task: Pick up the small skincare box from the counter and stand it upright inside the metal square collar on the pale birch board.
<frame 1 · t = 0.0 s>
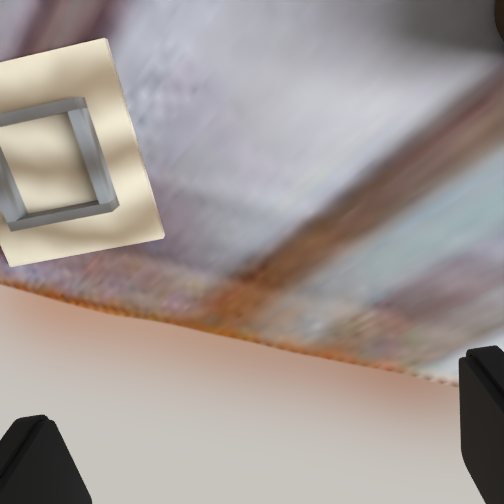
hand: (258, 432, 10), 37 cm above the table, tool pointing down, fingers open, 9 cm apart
holder board: (56, 162, 44), on the table
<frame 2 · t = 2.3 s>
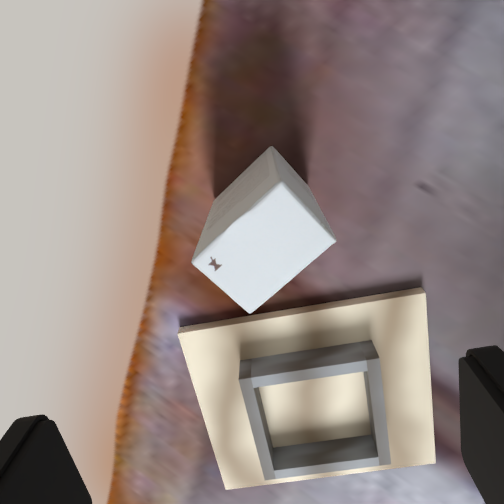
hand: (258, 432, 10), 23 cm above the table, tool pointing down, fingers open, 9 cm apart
holder board: (313, 394, 38), on the table
skincare box: (262, 192, 31), on the table
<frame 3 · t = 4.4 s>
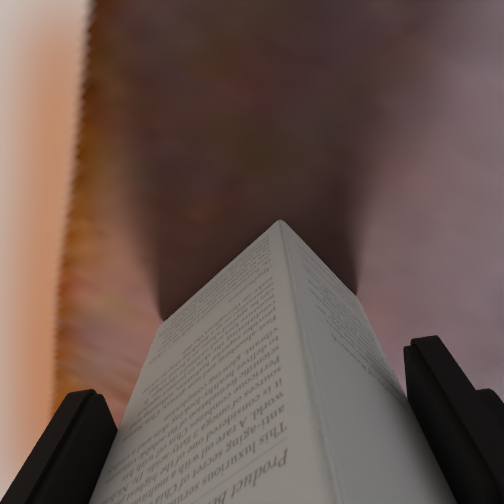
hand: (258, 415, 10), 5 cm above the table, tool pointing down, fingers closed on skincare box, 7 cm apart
skincare box: (260, 307, 15), on the table, touching gripper
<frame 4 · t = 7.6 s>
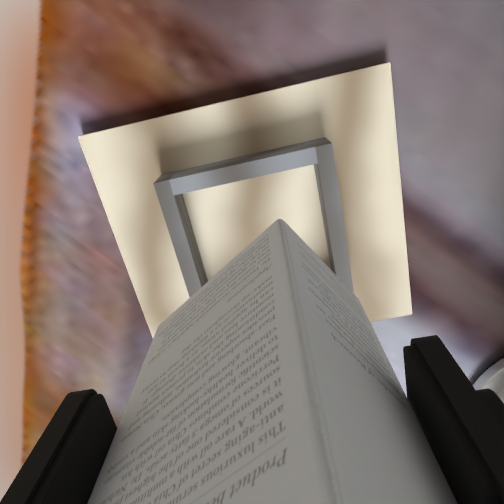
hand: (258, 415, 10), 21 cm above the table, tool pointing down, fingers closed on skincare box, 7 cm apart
holder board: (259, 228, 31), on the table
skincare box: (259, 307, 15), point 16 cm above the table, touching gripper
when the fingers open (7 cm above the table, at t = 10.9 s): skincare box stays where it is, resting on holder board.
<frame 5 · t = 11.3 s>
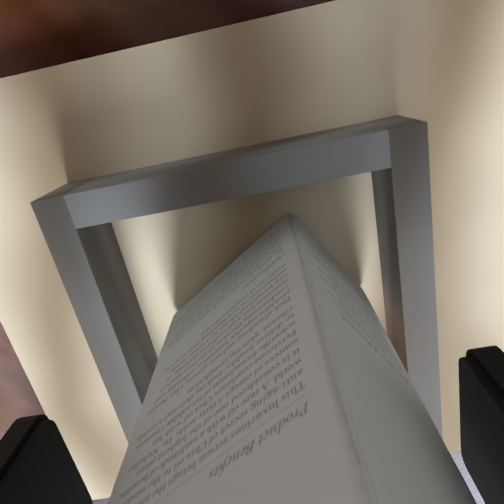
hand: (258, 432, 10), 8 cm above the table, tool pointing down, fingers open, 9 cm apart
holder board: (259, 285, 17), on the table
skincare box: (269, 297, 16), point 1 cm above the table, touching holder board
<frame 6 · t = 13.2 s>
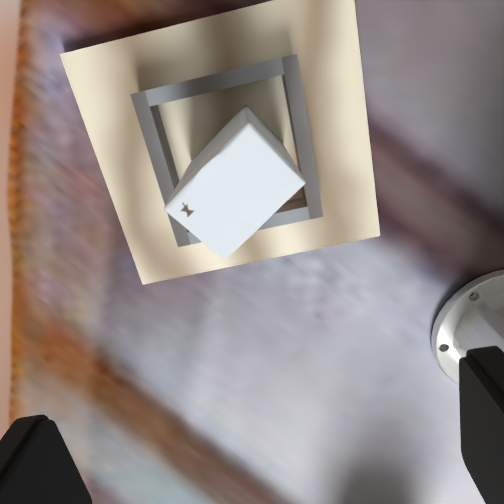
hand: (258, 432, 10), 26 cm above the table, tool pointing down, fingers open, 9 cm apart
holder board: (233, 150, 32), on the table
skincare box: (238, 153, 32), point 1 cm above the table, touching holder board
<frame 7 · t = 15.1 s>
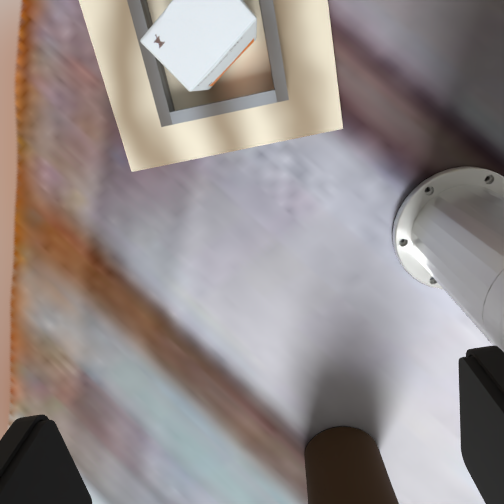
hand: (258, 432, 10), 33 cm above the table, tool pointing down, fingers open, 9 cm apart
olive oil: (340, 452, 54), on the table
holder board: (213, 45, 37), on the table
skincare box: (216, 46, 36), point 1 cm above the table, touching holder board
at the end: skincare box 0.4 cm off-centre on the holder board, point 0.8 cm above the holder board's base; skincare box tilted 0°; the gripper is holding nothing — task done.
